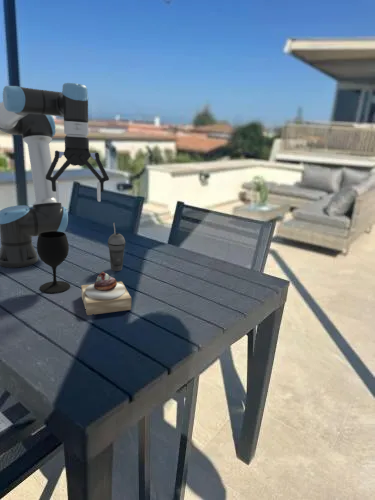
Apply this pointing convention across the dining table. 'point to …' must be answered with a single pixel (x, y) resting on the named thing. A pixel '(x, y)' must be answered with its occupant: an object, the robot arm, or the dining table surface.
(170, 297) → the dining table surface
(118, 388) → the dining table surface
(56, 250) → the wine glass
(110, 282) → the pastry
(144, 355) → the dining table surface
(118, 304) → the plinth
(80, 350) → the dining table surface
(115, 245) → the beverage cup
